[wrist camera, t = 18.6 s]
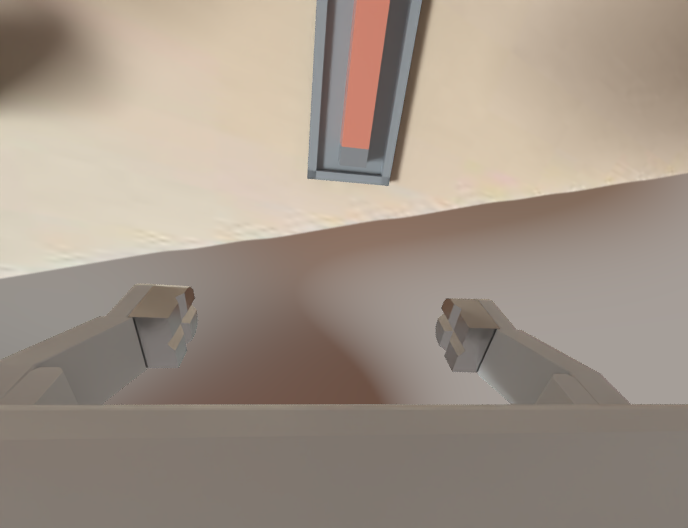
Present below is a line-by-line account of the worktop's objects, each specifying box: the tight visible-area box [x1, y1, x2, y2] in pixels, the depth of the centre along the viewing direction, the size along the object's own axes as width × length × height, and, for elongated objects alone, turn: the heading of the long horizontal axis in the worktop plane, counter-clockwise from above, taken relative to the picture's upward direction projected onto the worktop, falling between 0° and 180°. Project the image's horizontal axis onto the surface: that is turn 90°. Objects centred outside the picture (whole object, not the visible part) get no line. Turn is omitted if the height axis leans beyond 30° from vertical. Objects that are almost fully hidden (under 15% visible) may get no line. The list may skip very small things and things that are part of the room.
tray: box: [307, 0, 422, 186], centre depth 33 cm, size 10×24×2 cm, turn 174°
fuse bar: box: [338, 0, 390, 168], centre depth 32 cm, size 3×18×3 cm, turn 174°
